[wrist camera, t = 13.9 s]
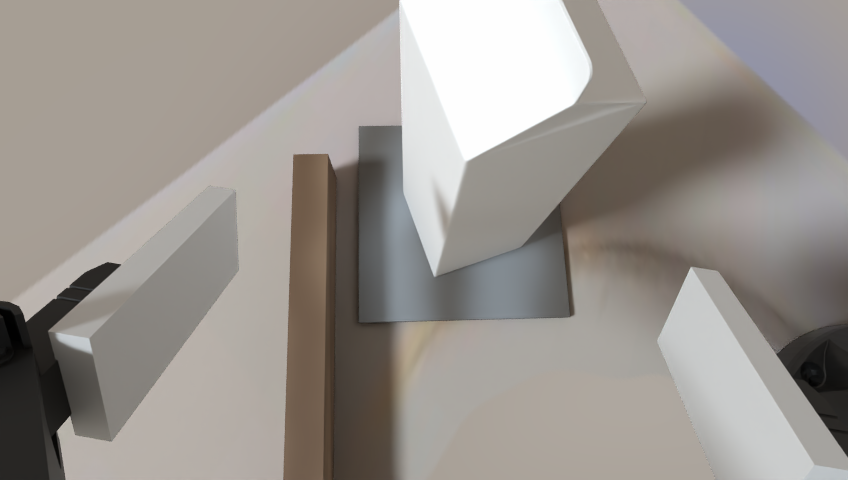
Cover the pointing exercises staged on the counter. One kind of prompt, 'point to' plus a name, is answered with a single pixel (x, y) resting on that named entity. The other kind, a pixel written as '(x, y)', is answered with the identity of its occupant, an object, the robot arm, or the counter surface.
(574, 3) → the milk
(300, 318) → the guide jig
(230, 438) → the counter surface
